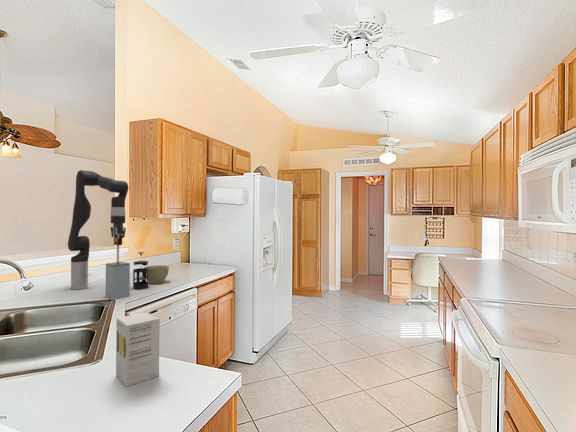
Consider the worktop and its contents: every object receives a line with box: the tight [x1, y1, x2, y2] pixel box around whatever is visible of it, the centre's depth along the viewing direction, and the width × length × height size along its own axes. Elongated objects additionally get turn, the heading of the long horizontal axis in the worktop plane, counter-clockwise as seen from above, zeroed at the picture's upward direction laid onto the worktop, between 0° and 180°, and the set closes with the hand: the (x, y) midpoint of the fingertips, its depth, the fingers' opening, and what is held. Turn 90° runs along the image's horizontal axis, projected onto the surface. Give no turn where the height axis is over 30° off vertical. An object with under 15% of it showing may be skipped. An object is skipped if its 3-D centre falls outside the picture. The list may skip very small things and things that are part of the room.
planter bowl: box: [143, 265, 170, 285], centre depth 226 cm, size 16×16×11 cm
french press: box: [132, 251, 150, 291], centre depth 210 cm, size 12×9×23 cm
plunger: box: [113, 237, 120, 264], centre depth 187 cm, size 6×6×24 cm
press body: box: [105, 261, 131, 300], centre depth 187 cm, size 9×9×19 cm
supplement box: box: [115, 311, 161, 387], centre depth 95 cm, size 10×9×17 cm
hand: (117, 244), depth 187 cm, fingers closed on plunger, 4 cm apart
